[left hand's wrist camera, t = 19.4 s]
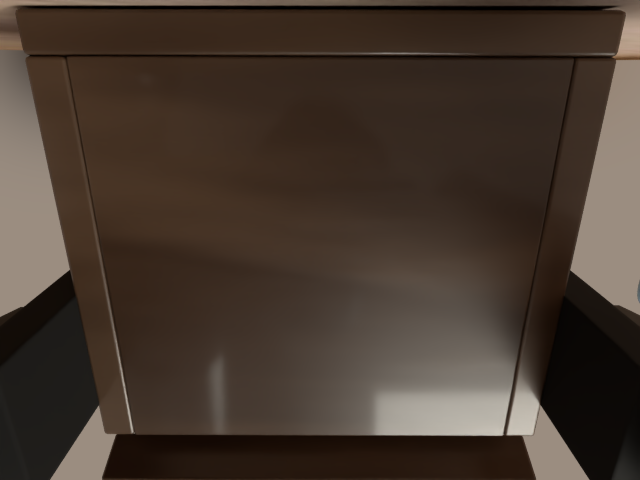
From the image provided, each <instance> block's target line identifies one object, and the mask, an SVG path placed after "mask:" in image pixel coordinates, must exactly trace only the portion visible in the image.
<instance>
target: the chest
mask: <svg viewBox="0 0 640 480" xmlns="http://www.w3.org/2000/svg"><path fill="white" fill-rule="evenodd" d="M625 17H626V15H625V12H623V11H621V10H355V9H27V8H21V9H18V10H16V18H17V23H18V28H19V32H20V37H21V42H22V46H23V50H24V52H25V53H26V54H28V55H30V56H28V57H26V66H27V70H28V75H29V80H30V84H31V89H32V94H33V98H34V103H35V108H36V112H37V117H38V122H39V126H40V131H41V136H42V140H43V145H44V150H45V154H46V159H47V164H48V169H49V173H50V178H51V183H52V187H53V192H54V197H55V201H56V206H57V211H58V215H59V220H60V225H61V229H62V234H63V239H64V243H65V248H66V253H67V257H68V262H69V267H70V272H71V276H72V281H73V286H74V290H75V295H76V299H77V304H78V308H79V313H80V318H81V322H82V327H83V331H84V336H85V341H86V345H87V350H88V355H89V359H90V364H91V369H92V373H93V378H94V382H95V387H96V392H97V396H98V401H99V407H100V412H101V417H102V421H103V426H104V431H105V433H107V434H133V433H134V432H135V434H136V435H340V436H503V434H504V435H506V436H532V435H534V432H535V427H536V423H537V418H538V414H539V409H540V405H541V400H542V396H543V391H544V386H545V382H546V377H547V373H548V368H549V364H550V359H551V355H552V350H553V346H554V341H555V337H556V332H557V327H558V323H559V318H560V314H561V309H562V304H563V300H564V296H565V291H566V287H567V282H568V278H569V273H570V268H571V264H572V259H573V255H574V250H575V246H576V241H577V237H578V232H579V227H580V223H581V218H582V214H583V209H584V205H585V200H586V196H587V191H588V187H589V182H590V178H591V173H592V169H593V164H594V159H595V155H596V150H597V146H598V141H599V137H600V132H601V128H602V123H603V119H604V114H605V110H606V105H607V101H608V96H609V91H610V87H611V82H612V78H613V73H614V69H615V64H616V59H614V58H612V57H613V56H615V55H616V54H617V52H618V48H619V44H620V39H621V35H622V30H623V26H624V21H625Z"/></svg>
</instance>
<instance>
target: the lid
mask: <svg viewBox="0 0 640 480" xmlns="http://www.w3.org/2000/svg"><path fill="white" fill-rule="evenodd" d="M102 480H536V477H535V474H534V471H533V468H532V464H531V461H530V458H529V455H528V452H527V449H526V446H525V442H524V439H523V437H522V436H506V435H503V436H340V435H136V434H117V435H116V436H115V440H114V443H113V446H112V449H111V452H110V455H109V458H108V461H107V464H106V467H105V470H104V473H103V476H102Z"/></svg>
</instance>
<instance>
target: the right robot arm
mask: <svg viewBox="0 0 640 480" xmlns="http://www.w3.org/2000/svg"><path fill="white" fill-rule="evenodd" d="M637 296H638V301H639V303H640V282H639V285H638V294H637Z"/></svg>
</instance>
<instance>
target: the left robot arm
mask: <svg viewBox="0 0 640 480" xmlns="http://www.w3.org/2000/svg"><path fill="white" fill-rule="evenodd" d="M98 406H99V401H98V396H97V392H96V387H95V382H94V378H93V373H92V369H91V364H90V359H89V355H88V350H87V345H86V341H85V336H84V331H83V327H82V322H81V318H80V313H79V308H78V304H77V299H76V295H75V290H74V286H73V281H72V276H71V272H70V270H69V271H68V272H67V273H65V274H64V275H63V276H62V277H60V278H59V279H58V280H57V281H55V282H54V283H53V284H52V285H50V286H49V287H48V288H47V289H46V290H44V291H43V292H42V293H41V294H39V295H38V296H37V297H36V298H34V299H33V300H32V301H31V302H29V303H28V304H27V305H26V306H24V307H20V308H18V309H16V310H14V311H12V312H10V313H8V314H5V315H3V316H1V317H0V480H50V479H51V477H52V476H53V474H54V473H55V471H56V470H57V468H58V467H59V465H60V463H61V462H62V461H63V459H64V457H65V456H66V454H67V453H68V451H69V450H70V448H71V447H72V445H73V444H74V442H75V441H76V439H77V437H78V436H79V434H80V433H81V431H82V430H83V428H84V427H85V425H86V424H87V422H88V421H89V419H90V418H91V416H92V415H93V413H94V412H95V410H96V409H97V407H98ZM541 406H542V408H543V409H544V411H545V412H546V414H547V415H548V417H549V418H550V420H551V422H552V423H553V425H554V426H555V428H556V429H557V431H558V432H559V434H560V435H561V437H562V438H563V440H564V441H565V443H566V444H567V446H568V448H569V449H570V451H571V452H572V454H573V455H574V457H575V458H576V460H577V461H578V463H579V464H580V466H581V467H582V469H583V470H584V472H585V474H586V475H587V477H588V478H589V480H640V315H638V314H636V313H634V312H632V311H630V310H628V309H626V308H623V307H621V306H619V305H612V304H611V303H610V302H609V301H607V300H606V299H605V298H604V297H603V296H601V295H600V294H599V293H598V292H596V291H595V290H594V289H593V288H591V287H590V286H589V285H588V284H587V283H585V282H584V281H583V280H582V279H580V278H579V277H578V276H577V275H575V274H574V273H573V272H572V271H570V273H569V278H568V282H567V287H566V291H565V296H564V300H563V304H562V309H561V314H560V318H559V323H558V327H557V332H556V337H555V341H554V346H553V350H552V355H551V359H550V364H549V368H548V373H547V377H546V382H545V386H544V391H543V396H542V400H541Z"/></svg>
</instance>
